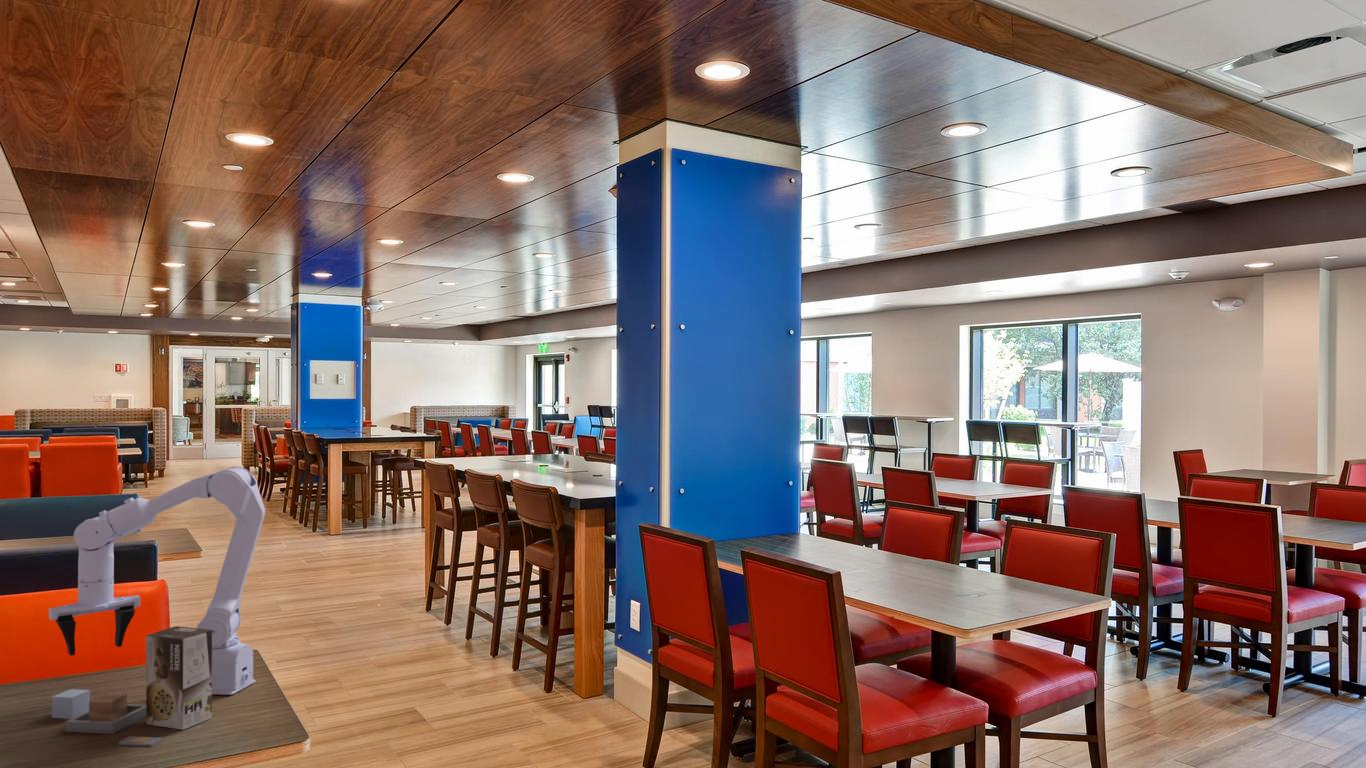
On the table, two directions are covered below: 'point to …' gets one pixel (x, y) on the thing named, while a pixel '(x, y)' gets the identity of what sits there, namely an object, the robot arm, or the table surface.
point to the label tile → (140, 741)
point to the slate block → (70, 703)
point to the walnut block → (108, 707)
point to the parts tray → (86, 726)
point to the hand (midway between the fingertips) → (95, 650)
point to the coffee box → (179, 677)
